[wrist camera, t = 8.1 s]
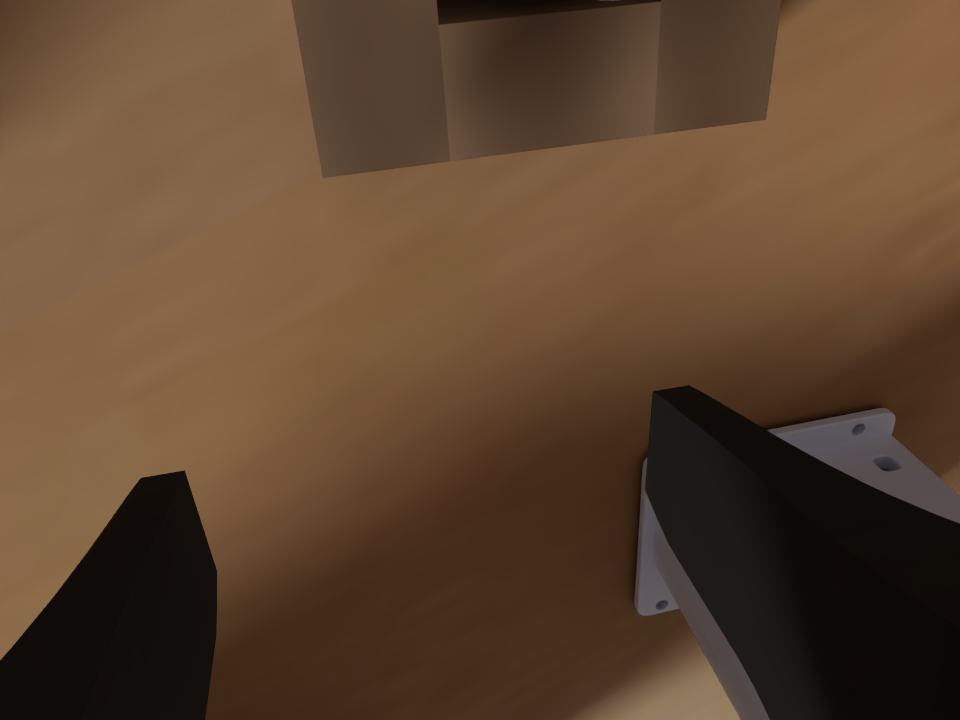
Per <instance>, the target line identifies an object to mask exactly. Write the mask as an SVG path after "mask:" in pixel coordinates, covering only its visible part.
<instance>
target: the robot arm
mask: <svg viewBox="0 0 960 720" xmlns="http://www.w3.org/2000/svg"><path fill="white" fill-rule="evenodd" d="M895 420H896V417H895V415H894V414H893V413H892V412H891V411H890V410H888V409H886V408H877V409H872V410H867V411H862V412H857V413H852V414H847V415H842V416H837V417H831V418H826V419H821V420H816V421H811V422H806V423H801V424H796V425H791V426H785V427H780V428H775V429H770V430H765V429H764V428H762V427H760V426H759V425H757V424H755V423H753V422H752V421H750V420H748V419H747V418H745V417H743V416H742V415H740V414H738V413H737V412H735V411H733V410H732V409H730V408H728V407H726V406H725V405H723V404H721V403H720V402H718V401H716V400H715V399H713V398H711V397H709V396H708V395H706V394H704V393H702V392H700V391H699V390H697V389H695V388H693V387H691V386H689V385H688V386H682V387H676V388H670V389H664V390H659V391H653V395H652V407H651V420H650V432H649V444H648V457H647V458H646V459H645V461H644V463H643V471H642V487H641V503H640V520H639V536H638V553H637V569H636V585H635V602H634V604H635V608H636V610H637V612H638V613H639V614H640V615H643V616H650V615H654V614H658V613H663V612H667V611H671V610H676V609H680V611H681V612H682V614H683V616H684V618H685V620H686V621H687V623H688V625H689V627H690V629H691V631H692V632H693V634H694V636H695V638H696V640H697V641H698V643H699V645H700V647H701V649H702V650H703V652H704V654H705V656H706V658H707V659H708V661H709V663H710V665H711V667H712V669H713V670H714V672H715V674H716V676H717V678H718V679H719V681H720V683H721V685H722V687H723V688H724V690H725V692H726V694H727V696H728V697H729V699H730V701H731V703H732V705H733V707H734V708H735V710H736V712H737V714H738V716H739V717H740V719H741V720H960V496H959V495H958V494H957V493H956V492H955V491H953V490H952V489H951V488H950V487H949V486H948V485H947V484H946V483H944V482H943V481H942V480H941V479H940V478H939V477H938V476H937V475H936V474H934V473H933V472H932V471H931V470H930V469H929V468H928V467H927V466H926V465H924V464H923V463H922V462H921V461H920V460H919V459H918V458H917V457H916V456H914V455H913V454H912V453H911V452H910V451H909V450H908V449H907V448H906V447H904V446H903V445H902V444H901V443H900V442H899V441H898V440H897V439H895V438H894V437H893V436H892V432H893V428H894V425H895ZM216 624H217V570H216V567H215V564H214V560H213V557H212V554H211V551H210V548H209V545H208V542H207V539H206V536H205V532H204V529H203V526H202V523H201V520H200V517H199V514H198V511H197V508H196V504H195V501H194V498H193V495H192V492H191V489H190V486H189V483H188V480H187V476H186V473H185V471H180V472H174V473H168V474H162V475H156V476H150V477H144V478H141V479H140V480H139V481H138V482H137V484H136V485H135V486H134V488H133V489H132V490H131V492H130V493H129V494H128V496H127V497H126V499H125V500H124V501H123V503H122V504H121V506H120V507H119V509H118V510H117V511H116V513H115V514H114V516H113V517H112V519H111V520H110V521H109V523H108V524H107V526H106V527H105V528H104V530H103V531H102V533H101V534H100V535H99V537H98V538H97V540H96V541H95V542H94V544H93V545H92V547H91V548H90V549H89V551H88V552H87V553H86V555H85V556H84V557H83V559H82V560H81V561H80V563H79V564H78V565H77V567H76V568H75V569H74V571H73V572H72V573H71V575H70V576H69V577H68V579H67V580H66V581H65V583H64V584H63V585H62V587H61V588H60V589H59V591H58V592H57V593H56V594H55V596H54V597H53V598H52V600H51V601H50V602H49V603H48V604H47V606H46V607H45V608H44V609H43V610H42V612H41V613H40V614H39V615H38V617H37V618H36V619H35V620H34V621H33V623H32V624H31V625H30V626H29V627H28V629H27V630H26V631H25V632H24V633H23V635H22V636H21V637H20V638H19V639H18V641H17V642H16V643H15V644H14V646H13V647H12V648H11V649H10V650H9V651H8V652H7V654H6V655H5V656H4V657H3V658H2V659H1V660H0V720H205V714H206V707H207V700H208V693H209V686H210V678H211V671H212V664H213V656H214V649H215V641H216Z"/></svg>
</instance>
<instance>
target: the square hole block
mask: <svg viewBox="0 0 960 720" xmlns="http://www.w3.org/2000/svg"><path fill="white" fill-rule="evenodd" d="M292 5H293V11H294V17H295V22H296V28H297V34H298V39H299V45H300V51H301V57H302V62H303V68H304V74H305V79H306V85H307V91H308V96H309V102H310V108H311V113H312V119H313V125H314V130H315V136H316V142H317V147H318V153H319V159H320V164H321V170H322V176H323V178H326V177H334V176H341V175H349V174H357V173H364V172H372V171H379V170H387V169H395V168H402V167H410V166H417V165H425V164H433V163H440V162H448V161H455V160H463V159H471V158H478V157H486V156H493V155H501V154H509V153H516V152H524V151H532V150H539V149H547V148H554V147H562V146H570V145H577V144H585V143H592V142H600V141H608V140H615V139H623V138H630V137H638V136H646V135H653V134H661V133H668V132H676V131H684V130H691V129H699V128H706V127H714V126H722V125H729V124H737V123H744V122H752V121H760V120H766V115H767V107H768V100H769V92H770V84H771V77H772V69H773V61H774V53H775V46H776V38H777V30H778V23H779V15H780V7H781V0H617V1H600V0H292Z"/></svg>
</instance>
